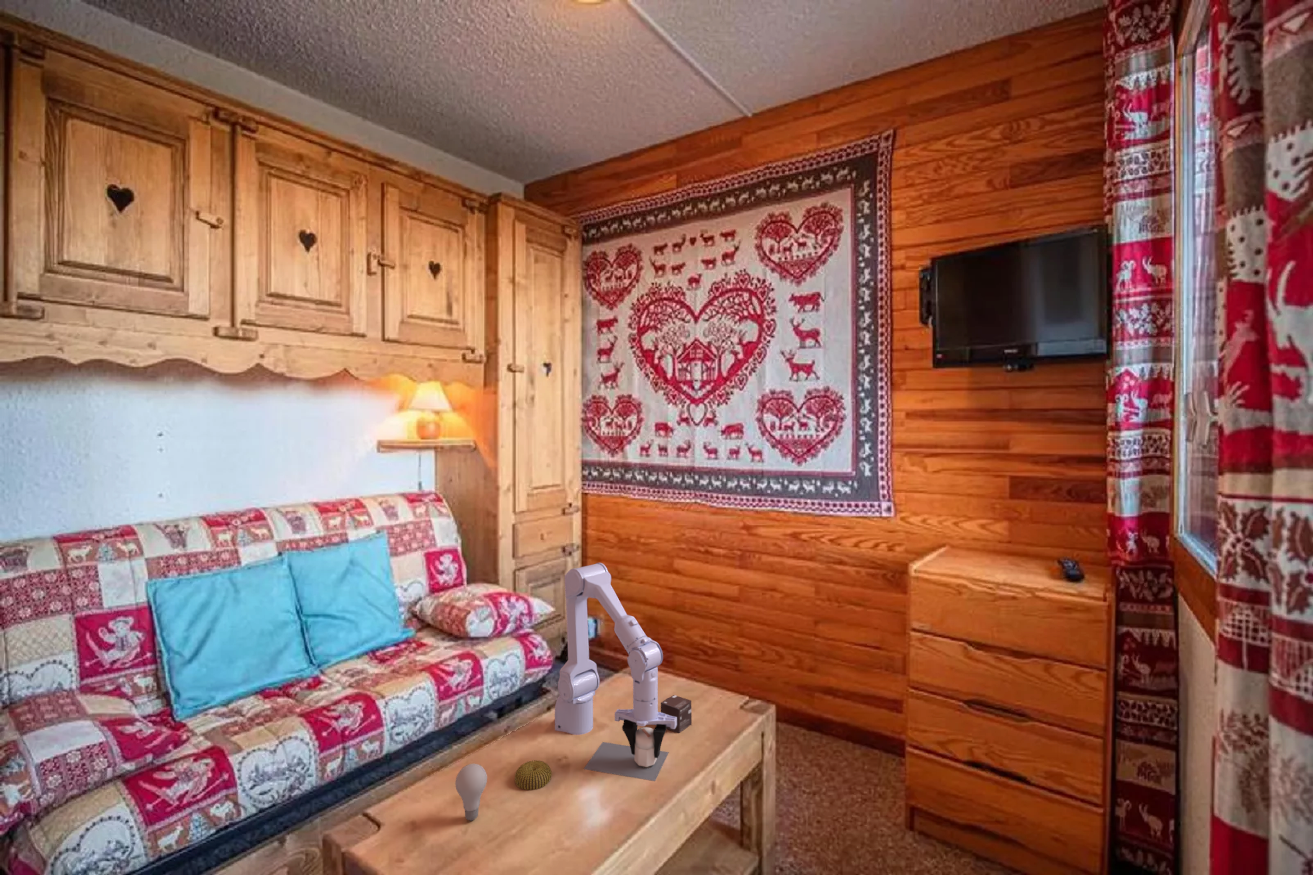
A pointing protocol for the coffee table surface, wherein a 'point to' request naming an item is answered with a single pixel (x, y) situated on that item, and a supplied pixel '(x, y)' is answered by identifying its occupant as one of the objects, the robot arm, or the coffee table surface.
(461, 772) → the lightbulb
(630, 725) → the robot arm
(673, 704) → the box
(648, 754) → the knob
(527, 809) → the coffee table surface
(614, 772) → the board
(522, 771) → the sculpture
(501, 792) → the coffee table surface
